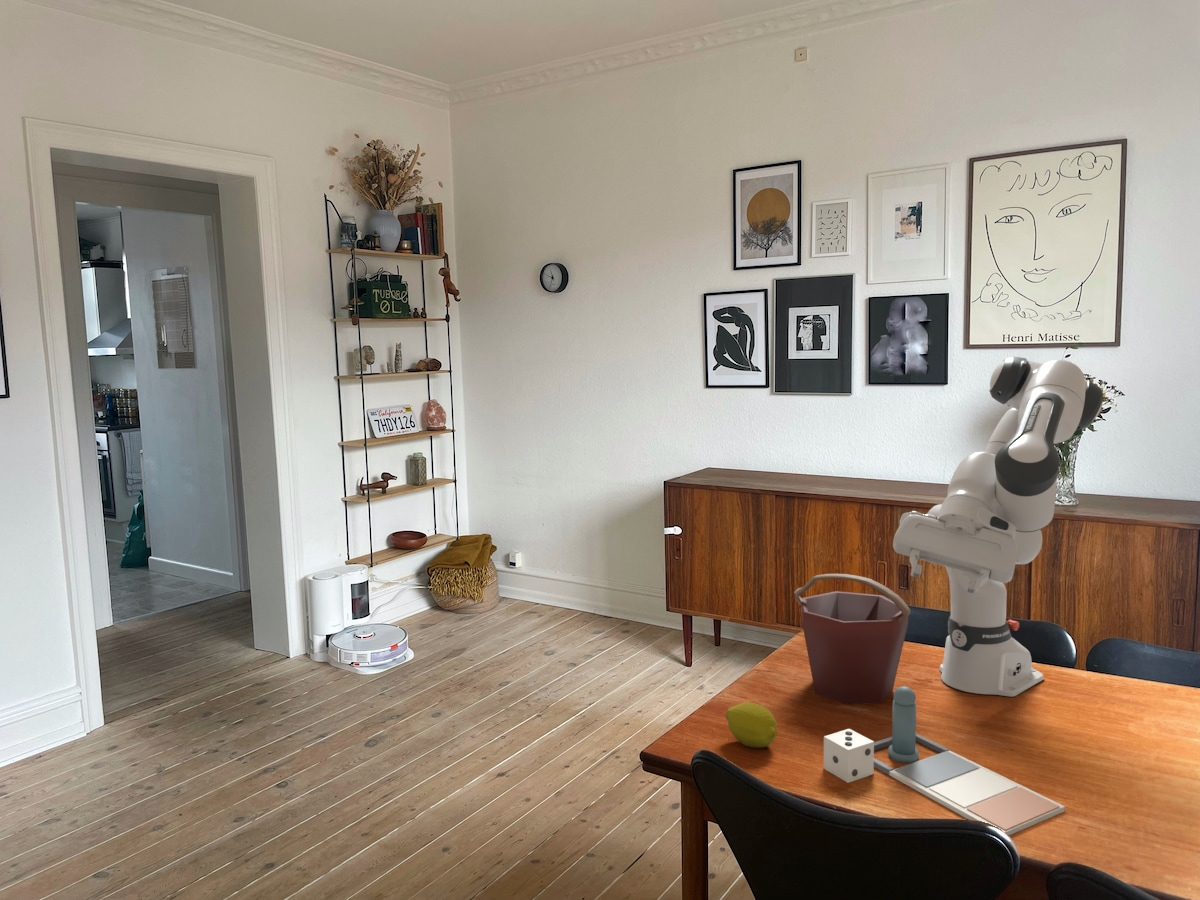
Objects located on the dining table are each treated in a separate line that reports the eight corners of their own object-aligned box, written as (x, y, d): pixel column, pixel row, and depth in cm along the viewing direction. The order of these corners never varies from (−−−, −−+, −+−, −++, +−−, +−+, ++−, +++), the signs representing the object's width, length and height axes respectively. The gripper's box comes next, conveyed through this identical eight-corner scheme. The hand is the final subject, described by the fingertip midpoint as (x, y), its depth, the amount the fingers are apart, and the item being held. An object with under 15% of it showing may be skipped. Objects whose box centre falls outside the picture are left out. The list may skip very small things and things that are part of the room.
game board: (910, 735, 167) (910, 730, 167) (1064, 811, 139) (1064, 805, 139) (852, 754, 160) (852, 749, 160) (1002, 838, 132) (1002, 832, 132)
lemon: (787, 749, 162) (787, 708, 161) (756, 761, 158) (756, 719, 157) (748, 728, 172) (747, 690, 171) (717, 739, 167) (717, 699, 166)
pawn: (902, 747, 162) (903, 679, 160) (925, 758, 158) (926, 688, 156) (882, 753, 160) (883, 685, 158) (904, 765, 155) (905, 695, 154)
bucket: (774, 685, 192) (774, 575, 189) (834, 660, 206) (834, 557, 203) (872, 720, 174) (874, 599, 170) (930, 690, 188) (932, 577, 185)
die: (848, 760, 158) (849, 727, 157) (874, 774, 152) (874, 741, 152) (823, 768, 155) (823, 735, 154) (847, 783, 150) (848, 749, 149)
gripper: (905, 498, 160) (882, 554, 152) (1025, 528, 150) (1008, 590, 143) (903, 519, 164) (881, 575, 156) (1020, 550, 155) (1003, 611, 147)
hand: (943, 583), depth 149 cm, fingers open, 8 cm apart
